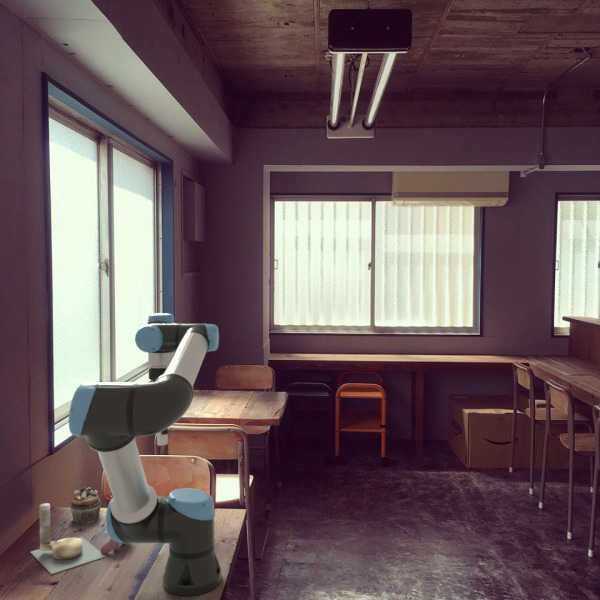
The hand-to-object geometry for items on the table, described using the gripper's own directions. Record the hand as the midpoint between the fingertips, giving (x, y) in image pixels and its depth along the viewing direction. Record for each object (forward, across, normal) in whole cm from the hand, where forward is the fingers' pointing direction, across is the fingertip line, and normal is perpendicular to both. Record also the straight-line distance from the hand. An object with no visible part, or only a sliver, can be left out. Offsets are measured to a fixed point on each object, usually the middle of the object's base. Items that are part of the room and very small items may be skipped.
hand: (162, 444), depth 182 cm
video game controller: (+30, +5, +12) cm, 33 cm away
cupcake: (+30, +31, +11) cm, 44 cm away
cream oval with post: (+29, +11, +26) cm, 41 cm away
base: (+29, +10, +25) cm, 40 cm away
